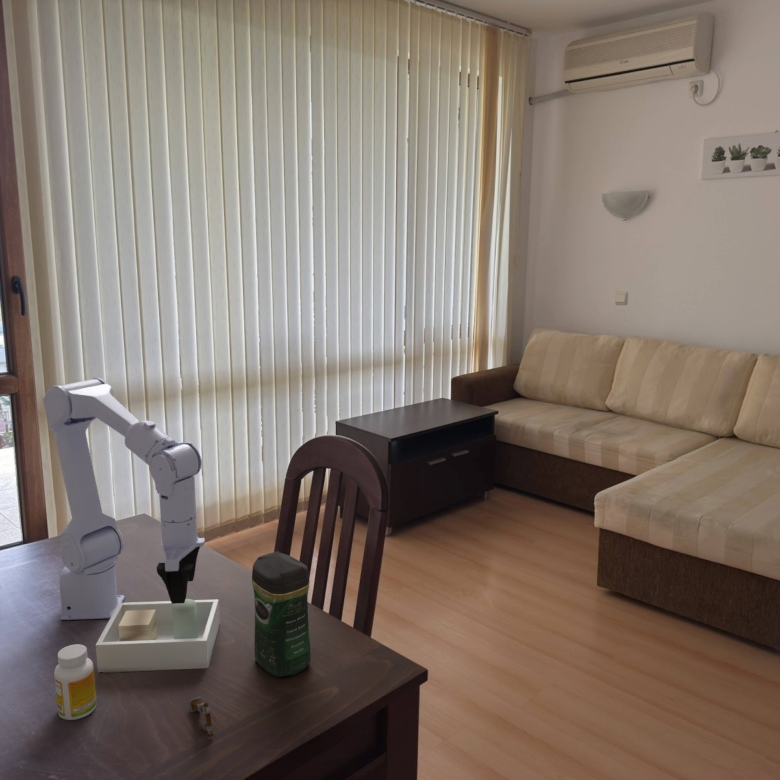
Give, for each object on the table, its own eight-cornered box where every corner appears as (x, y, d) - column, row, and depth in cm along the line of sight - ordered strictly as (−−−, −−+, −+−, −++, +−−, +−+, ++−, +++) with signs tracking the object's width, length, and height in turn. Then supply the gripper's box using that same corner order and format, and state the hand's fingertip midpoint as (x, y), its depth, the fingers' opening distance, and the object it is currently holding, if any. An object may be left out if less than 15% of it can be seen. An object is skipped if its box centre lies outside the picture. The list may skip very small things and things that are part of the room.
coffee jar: (318, 666, 119) (317, 563, 115) (277, 685, 114) (274, 577, 110) (287, 641, 127) (285, 543, 123) (247, 658, 122) (243, 556, 118)
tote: (97, 672, 117) (95, 645, 116) (121, 627, 130) (119, 602, 129) (207, 668, 119) (206, 640, 118) (219, 624, 132) (218, 599, 131)
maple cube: (120, 652, 121) (118, 625, 120) (128, 636, 126) (126, 610, 125) (150, 651, 122) (148, 624, 121) (157, 635, 127) (155, 609, 126)
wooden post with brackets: (206, 739, 101) (201, 706, 101) (193, 729, 108) (188, 698, 108) (219, 735, 102) (214, 702, 102) (205, 725, 109) (200, 694, 109)
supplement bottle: (103, 699, 111) (98, 642, 108) (85, 722, 105) (80, 663, 103) (70, 696, 111) (64, 640, 109) (50, 719, 106) (44, 660, 104)
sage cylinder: (196, 647, 123) (194, 610, 122) (172, 648, 123) (169, 611, 121) (199, 634, 127) (197, 598, 126) (176, 635, 127) (174, 599, 125)
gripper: (195, 533, 113) (199, 612, 116) (209, 499, 127) (213, 570, 130) (149, 534, 112) (154, 613, 115) (169, 500, 127) (173, 572, 129)
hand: (182, 591), depth 123 cm, fingers open, 7 cm apart
